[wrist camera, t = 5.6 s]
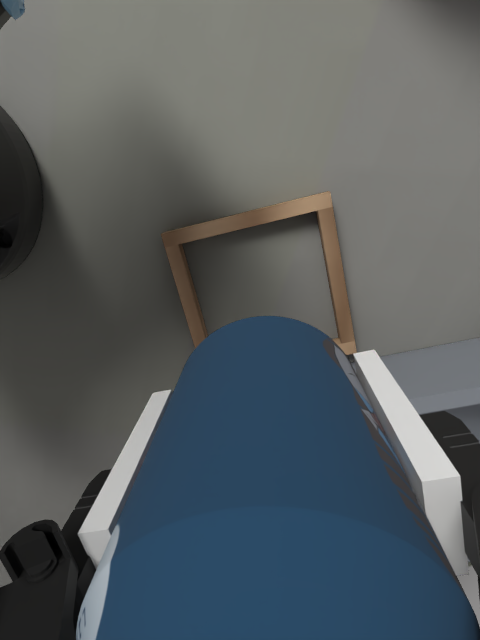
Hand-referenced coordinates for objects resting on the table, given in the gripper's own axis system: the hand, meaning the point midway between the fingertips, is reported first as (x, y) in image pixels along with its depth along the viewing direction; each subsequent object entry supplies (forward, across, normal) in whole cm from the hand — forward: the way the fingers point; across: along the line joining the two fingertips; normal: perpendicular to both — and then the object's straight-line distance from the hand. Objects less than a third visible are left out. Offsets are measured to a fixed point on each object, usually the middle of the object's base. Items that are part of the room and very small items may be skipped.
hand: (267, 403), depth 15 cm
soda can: (+2, 0, 0) cm, 2 cm away
